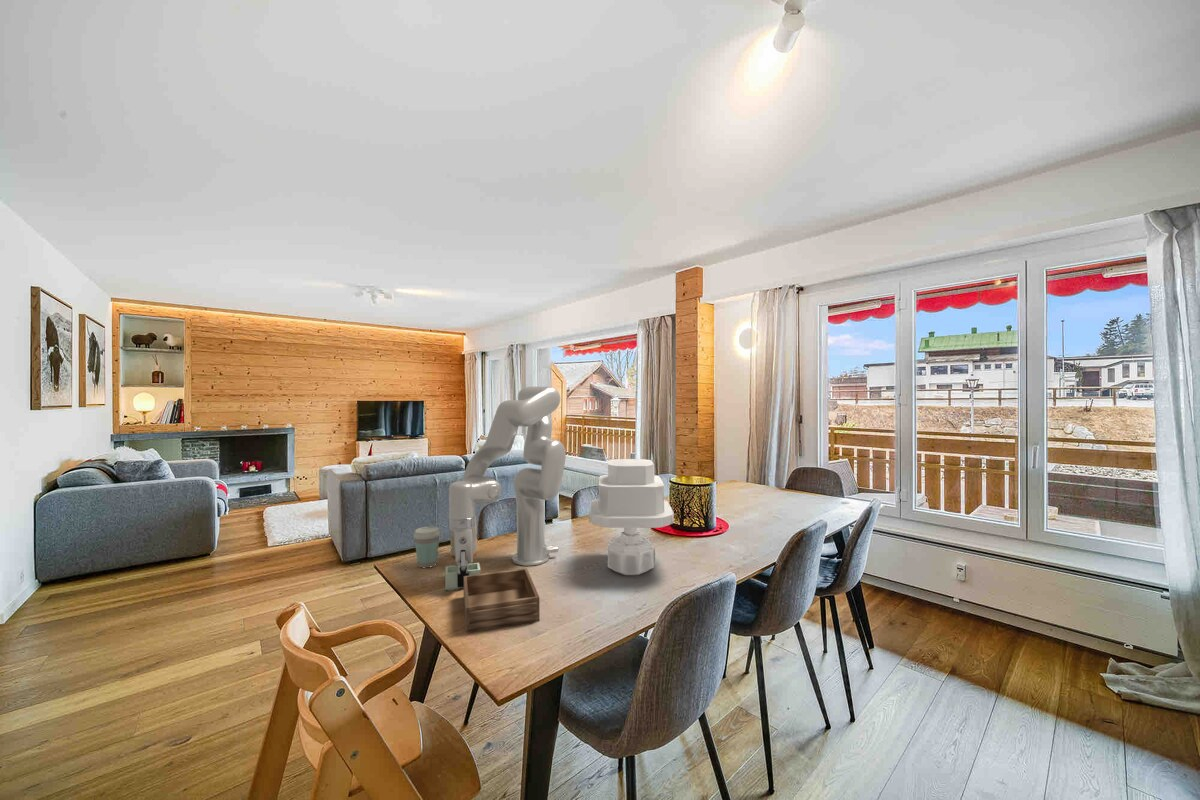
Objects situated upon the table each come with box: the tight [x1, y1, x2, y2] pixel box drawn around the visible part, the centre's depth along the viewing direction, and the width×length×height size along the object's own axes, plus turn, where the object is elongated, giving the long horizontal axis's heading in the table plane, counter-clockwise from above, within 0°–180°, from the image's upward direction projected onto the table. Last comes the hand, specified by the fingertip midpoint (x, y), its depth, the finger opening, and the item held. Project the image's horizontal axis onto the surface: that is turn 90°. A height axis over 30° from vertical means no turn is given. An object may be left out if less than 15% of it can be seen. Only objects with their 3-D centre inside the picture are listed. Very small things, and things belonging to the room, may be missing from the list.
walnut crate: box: [463, 568, 541, 633], centre depth 123 cm, size 18×21×6 cm
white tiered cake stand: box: [588, 458, 675, 576], centre depth 151 cm, size 27×27×35 cm
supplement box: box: [449, 516, 478, 557], centre depth 164 cm, size 8×5×13 cm, turn 84°
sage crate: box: [444, 562, 482, 592], centre depth 139 cm, size 10×6×5 cm, turn 108°
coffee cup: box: [413, 526, 441, 568], centre depth 154 cm, size 9×8×12 cm
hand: (462, 581), depth 139 cm, fingers closed on sage crate, 6 cm apart
